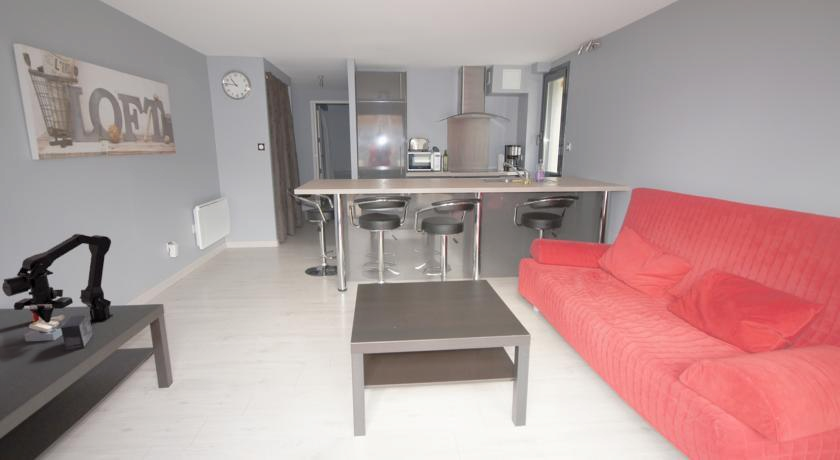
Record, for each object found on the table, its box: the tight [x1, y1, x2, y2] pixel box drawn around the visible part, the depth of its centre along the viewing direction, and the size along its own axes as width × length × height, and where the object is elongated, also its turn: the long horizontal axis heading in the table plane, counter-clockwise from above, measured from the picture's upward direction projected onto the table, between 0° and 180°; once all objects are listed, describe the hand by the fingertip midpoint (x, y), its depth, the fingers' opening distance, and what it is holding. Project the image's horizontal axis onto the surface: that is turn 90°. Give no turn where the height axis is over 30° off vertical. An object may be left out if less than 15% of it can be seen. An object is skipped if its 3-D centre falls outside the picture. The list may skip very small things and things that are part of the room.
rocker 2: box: [37, 319, 60, 328], centre depth 174 cm, size 7×2×2 cm, turn 96°
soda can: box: [28, 295, 41, 323], centre depth 186 cm, size 5×5×12 cm
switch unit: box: [23, 321, 67, 342], centre depth 175 cm, size 11×11×4 cm
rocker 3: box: [50, 314, 66, 322], centre depth 177 cm, size 7×2×2 cm, turn 95°
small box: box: [61, 313, 95, 351], centre depth 167 cm, size 11×6×10 cm, turn 21°
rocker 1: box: [29, 322, 53, 333], centre depth 171 cm, size 7×2×2 cm, turn 96°
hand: (48, 322), depth 170 cm, fingers closed
